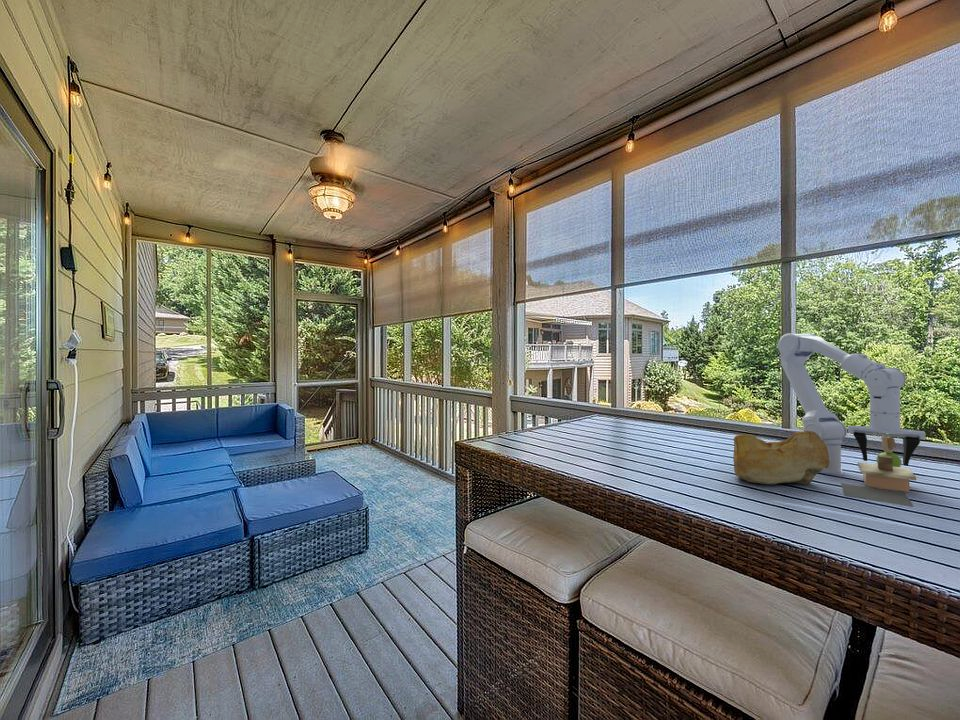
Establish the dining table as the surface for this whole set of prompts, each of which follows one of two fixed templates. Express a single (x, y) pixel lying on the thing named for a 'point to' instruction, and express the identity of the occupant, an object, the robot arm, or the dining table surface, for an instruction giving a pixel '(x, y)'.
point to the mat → (876, 494)
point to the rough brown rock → (780, 458)
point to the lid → (886, 469)
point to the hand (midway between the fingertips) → (884, 462)
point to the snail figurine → (890, 450)
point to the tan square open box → (886, 482)
